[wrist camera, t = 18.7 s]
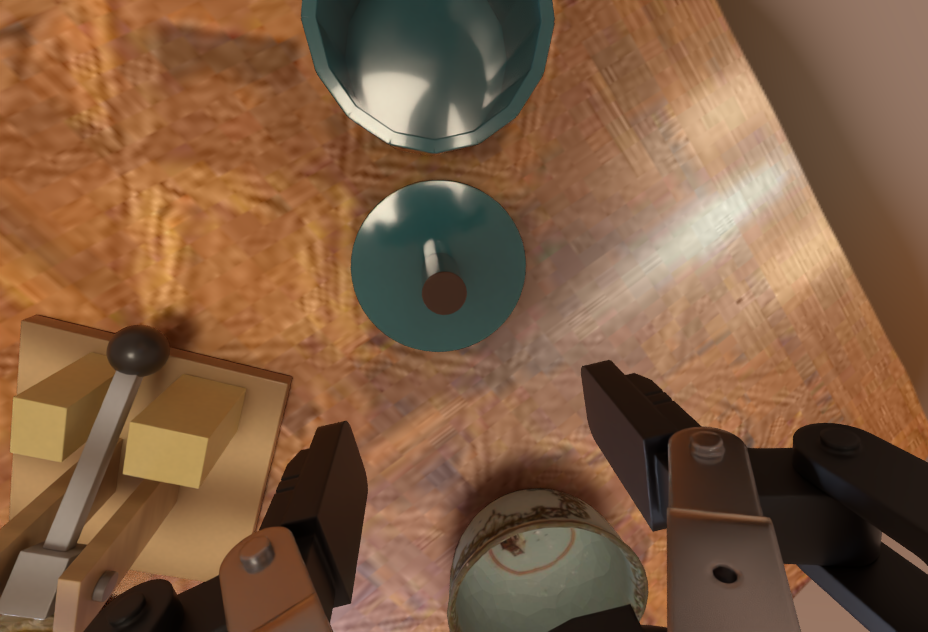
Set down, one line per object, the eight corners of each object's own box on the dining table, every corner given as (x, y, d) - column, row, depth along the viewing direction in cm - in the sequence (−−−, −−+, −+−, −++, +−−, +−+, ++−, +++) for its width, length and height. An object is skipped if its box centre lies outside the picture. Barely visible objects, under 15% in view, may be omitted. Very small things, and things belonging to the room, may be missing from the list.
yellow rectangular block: (90, 351, 29) (12, 396, 24) (133, 361, 30) (66, 408, 24) (85, 398, 30) (9, 453, 25) (127, 407, 31) (61, 463, 25)
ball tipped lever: (132, 324, 28) (108, 314, 26) (185, 336, 29) (167, 328, 26) (21, 591, 25) (-22, 614, 22) (83, 600, 25) (49, 624, 22)
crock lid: (331, 200, 29) (307, 211, 23) (506, 162, 29) (530, 161, 23) (378, 362, 33) (369, 409, 26) (534, 326, 33) (561, 364, 27)
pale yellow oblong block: (183, 373, 30) (129, 421, 25) (246, 388, 31) (208, 438, 25) (175, 417, 31) (122, 474, 26) (237, 431, 32) (198, 489, 26)
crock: (313, -22, 25) (265, -108, 17) (496, -61, 26) (532, -163, 18) (364, 170, 29) (344, 173, 21) (526, 134, 29) (568, 124, 21)
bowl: (405, 512, 37) (402, 602, 29) (547, 417, 35) (582, 486, 28) (502, 609, 41) (521, 711, 33) (632, 528, 39) (683, 615, 32)
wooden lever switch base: (35, 314, 30) (-197, 406, 18) (292, 376, 32) (226, 488, 21) (19, 538, 34) (-172, 718, 23) (244, 574, 37) (170, 751, 26)
